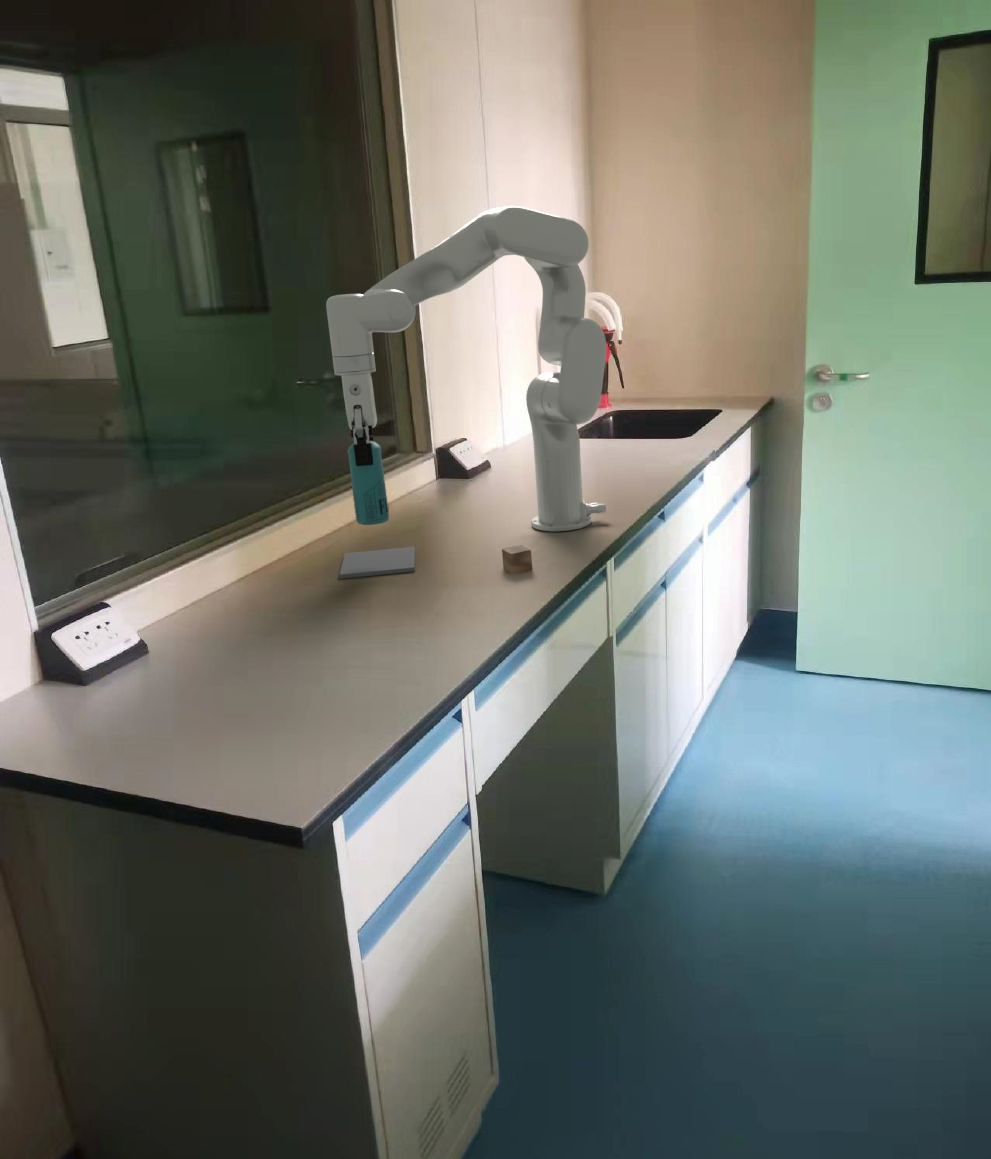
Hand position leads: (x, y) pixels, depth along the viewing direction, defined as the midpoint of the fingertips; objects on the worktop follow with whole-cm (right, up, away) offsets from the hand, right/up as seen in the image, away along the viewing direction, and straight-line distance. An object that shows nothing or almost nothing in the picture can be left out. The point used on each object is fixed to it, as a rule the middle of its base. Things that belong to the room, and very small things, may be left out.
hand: (365, 460), depth 185 cm
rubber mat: (+2, -19, +6) cm, 20 cm away
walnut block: (+28, -21, -4) cm, 35 cm away
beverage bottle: (+1, -13, +4) cm, 13 cm away
